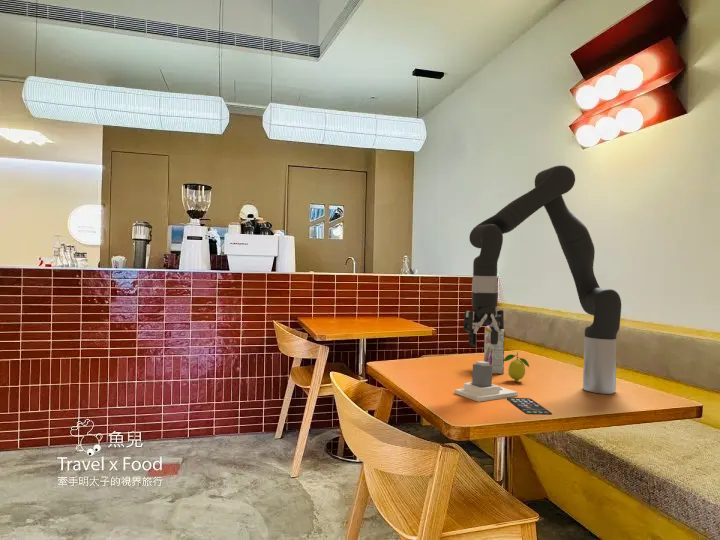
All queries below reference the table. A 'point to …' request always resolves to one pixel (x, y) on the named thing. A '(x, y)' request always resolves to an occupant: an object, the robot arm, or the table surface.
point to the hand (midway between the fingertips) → (483, 345)
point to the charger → (482, 374)
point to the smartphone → (529, 406)
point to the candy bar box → (494, 351)
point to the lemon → (516, 367)
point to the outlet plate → (485, 392)
